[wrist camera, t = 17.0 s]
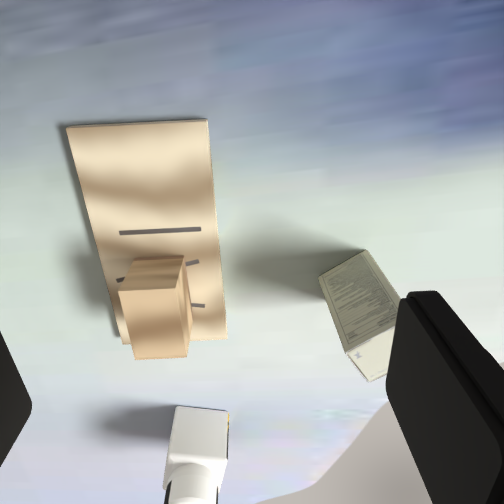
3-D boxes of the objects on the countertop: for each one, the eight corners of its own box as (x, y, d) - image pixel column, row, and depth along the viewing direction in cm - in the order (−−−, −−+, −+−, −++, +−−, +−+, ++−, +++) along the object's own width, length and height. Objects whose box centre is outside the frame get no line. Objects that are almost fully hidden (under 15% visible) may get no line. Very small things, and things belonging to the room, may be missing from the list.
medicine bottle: (221, 444, 54) (216, 539, 44) (171, 439, 54) (154, 535, 43) (229, 410, 51) (226, 504, 41) (176, 404, 50) (159, 498, 40)
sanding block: (134, 257, 39) (117, 291, 33) (184, 255, 39) (175, 288, 33) (148, 321, 42) (135, 359, 37) (193, 318, 42) (186, 357, 37)
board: (71, 125, 34) (65, 128, 32) (207, 119, 34) (206, 121, 33) (125, 337, 45) (122, 344, 44) (227, 332, 45) (227, 339, 44)
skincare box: (335, 302, 43) (366, 386, 33) (315, 275, 42) (342, 354, 31) (385, 275, 42) (435, 353, 31) (367, 245, 40) (414, 317, 29)
